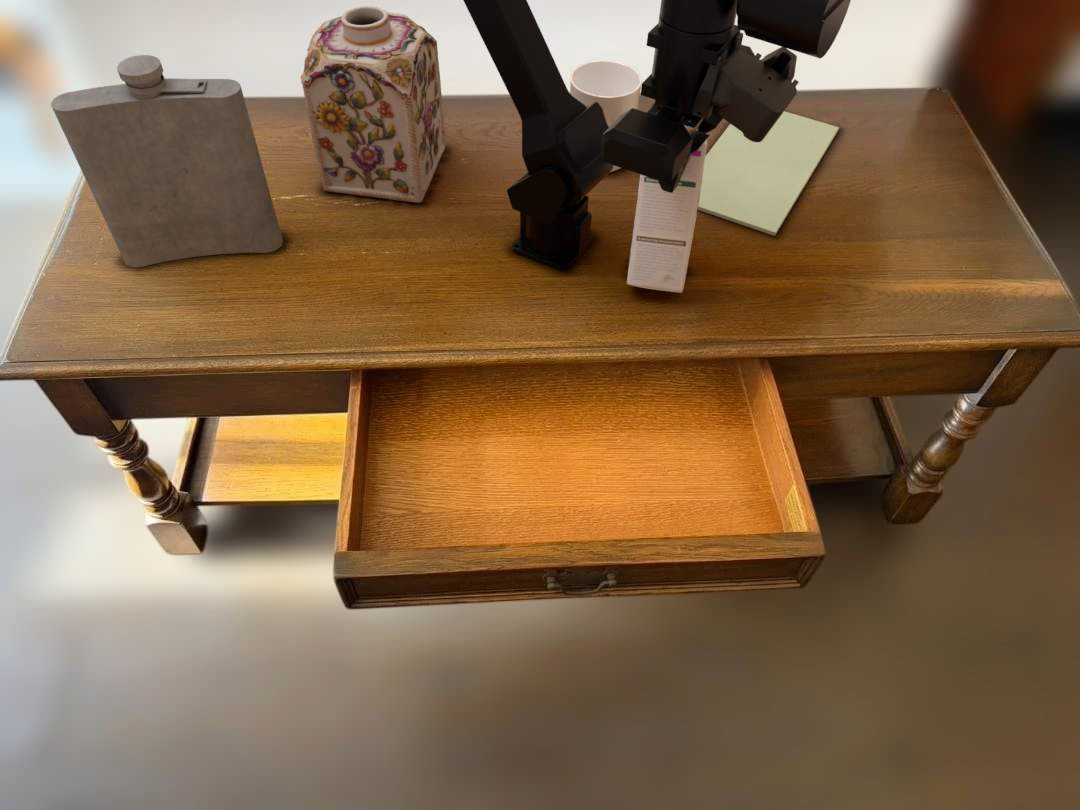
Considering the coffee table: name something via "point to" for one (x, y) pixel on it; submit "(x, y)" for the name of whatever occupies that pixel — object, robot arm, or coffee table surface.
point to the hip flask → (171, 164)
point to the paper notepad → (762, 171)
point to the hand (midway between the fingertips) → (668, 189)
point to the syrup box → (665, 229)
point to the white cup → (607, 88)
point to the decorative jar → (374, 104)
